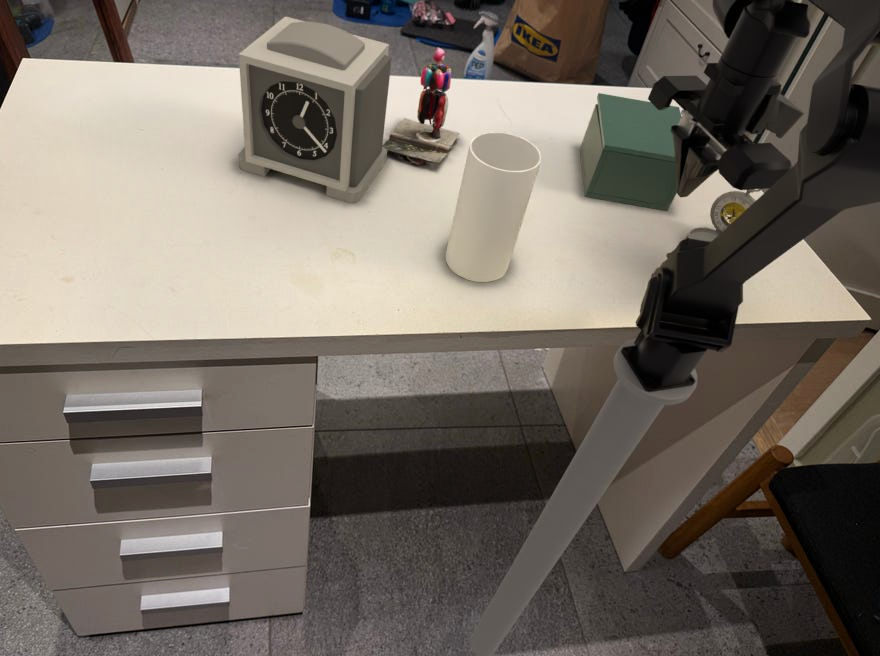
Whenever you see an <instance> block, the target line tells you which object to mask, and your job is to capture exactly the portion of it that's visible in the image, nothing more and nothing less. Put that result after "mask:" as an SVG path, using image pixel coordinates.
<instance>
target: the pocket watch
mask: <svg viewBox="0 0 880 656" xmlns="http://www.w3.org/2000/svg"><path fill="white" fill-rule="evenodd" d="M762 190H763V189H752V190H746V191H745V192H744V191H741V190H731V191H727V192H723V193H722V194H721V195H719V196H718V197H717V198H716V199H714V201H713V202H712V205H711V207H710V212H709V213H710V214H709V215H710V221H711V223H712V226H713V227H714V229H713V228H709V227H695V228H693V229H691V230H690V231H688V234H687V236H686V238H692V239H697V240H703V241H709V242H712V241H713V240H714V239H715V238H716V237H717V236H718V235H719V234H720V233H721V232H723V231H724V230H725V229H726V228H727V227H728V226H729V225H730V224H731V223H732V222H733V221H735V220H736V219H737V218H738V217H739V216H740V215H741V214H742V213H743V212H744V211H745V210H747V209H748V208H749V207H750V206H751V205H752V204H753V203H754V202H755V201H756V200H757V199H755V198H754V197H753V196H752V195H750V194H753V193H757V192H761V191H762Z"/></svg>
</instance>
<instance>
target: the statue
mask: <svg viewBox="0 0 880 656" xmlns="http://www.w3.org/2000/svg"><path fill="white" fill-rule="evenodd" d="M445 55H446V52H445V50H444V49H442V48H441V47H436V48H435V51H434V53H433V56H432V58H433V61H434V63H431V64H428V65H426V66H425V67H424V68H423V69H422V71H421V76H420V85H421V86H422V87H423V89H422V91H421V92H420V96H419V101H418V107H417V115H416V117H417V120H418V121H416V120H411V119H410V118H406V117H405V118H403V120H401V122H400V123H399V124H398V126H397V127H395V129H394V130H393V131H392V132H391V133H390V134H389V137H388V140H386V141H385V142H384V143H383V144H382V147H384V148H385V149H386V150H387V153H390V152H391V153H392V154H394V155H395V156H396V157H397V158H398V159H400V160H402V159H404V157H406V158H407V159H408V160H409V161H410V163H413V164H416V165H417V166H421V165H426V164H427V161H428V162H434V163H438V164H439V163H441V161H442V160H443V159H444V158H445V157H447V155H448V154H449V150H452V149H453V146H454V143H455V142H457V141H458V137H459V136H460V135H461V134H460V132H458V131H453V130H450V129H446V128H442V127H444V125H445V121H446V117H447V114H448V109H449V98H448V95H447V93H446V92H448V91H449V90H450V88H451V82H452V69H451V68H450V67H449V66H448V65H444V64H443V63H442V62H444V60H445ZM426 121H429V124H427V123H425V122H426ZM403 156H404V157H403ZM429 166H431V164H429Z"/></svg>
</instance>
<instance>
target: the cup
mask: <svg viewBox="0 0 880 656" xmlns="http://www.w3.org/2000/svg"><path fill="white" fill-rule="evenodd" d="M541 162H542V154H541V152H540V150H539V148H538V147H537V146H536V145H535V144H533V143H532V142H531V141H529V140H528V139H526V138H525V137H521V136H520V135H517V134H513V133H508V132H502V131H488V132H483V133H480V134H478V135H476V136H474V137H473V138H472V139H471V141H470V144H469V145H468V150H467V155H466V159H465V164H464V168H463V172H462V177H461V181H460V186H459V191H458V196H457V201H456V205H455V209H454V215H453V218H452V224H451V229H450V233H449V238H448V242H447V248H446V250H445V251H446V252H445V262H446V264H447V267H449V269H450V270H451V271H452V272H453V273H455V274H456V275H457V276H459V277H461V278H463V279H465V280H468V281H471V282H476V283H490V282H495V281H498V280H499V279H501V278H502V277H504V276H505V275H506V273H507V271H508V269H509V265H510V262H511V260H512V256H513V252H514V250H515V247H516V243H517V240H518V238H519V234H520V231H521V227H522V224H523V222H524V218H525V215H526V211H527V208H528V205H529V202H530V199H531V195H532V192H533V189H534V186H535V183H536V178H537V176H538V172H539V171H540V166H541Z"/></svg>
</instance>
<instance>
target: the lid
mask: <svg viewBox="0 0 880 656" xmlns="http://www.w3.org/2000/svg"><path fill="white" fill-rule="evenodd" d="M596 102H597V104H598V110H599V119H600V127H601V136H602V144H603V149H604V150H609V151H615V152H621V153H627V154H632V155H638V156H644V157H650V158H655V159H661V160H667V161H672V162H675V151H674V141H673V134H672V133H671V131H670V129H671V126H673V125H678V124H679V121H680V119H681V117H682V114H681V110H680V106H676V105H670V106H669V107H668V108H666V109H664V110H658V109H657V108H656V107H655V106H654V105H653V104H652V103H651V102H650V101H647V100H641V99H635V98H629V97H624V96H618V95H612V94H606V93H602V92H598V93H597V96H596Z"/></svg>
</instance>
